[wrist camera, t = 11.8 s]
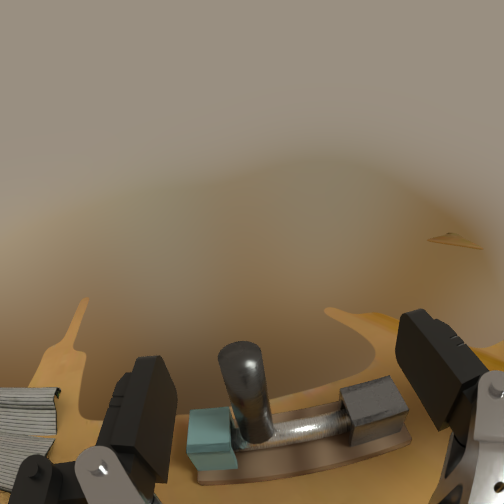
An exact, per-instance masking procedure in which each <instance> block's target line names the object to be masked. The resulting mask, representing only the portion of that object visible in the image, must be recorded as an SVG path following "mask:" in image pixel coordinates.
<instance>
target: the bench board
mask: <svg viewBox="0 0 504 504" xmlns="http://www.w3.org/2000/svg"><path fill="white" fill-rule="evenodd" d="M338 404H339V401H337V402H333V403H329V404H324V405H320V406H315V407H310V408H305V409H300V410H295V411H289V412H283V413H277V414H272V420H273V423H278V422H284V421H290V420H295V419H301V418H306V417H311V416H315V415H320V414H325V413H329V412H333V411H337V410H338ZM233 421H234V424H235V427H236V428H239V427H238V424H237V421H236V419H233ZM349 435H350V431H349V432H346V433H342V434H338V435H334V436H330V437H325V438H321V439H316V440H311V441H306V442H301V443H296V444H290V445H284V446H278V447H271V448H264V449H256V450H248V451H238V452H234V454H235V457H236V459H237V464H238V469H227V470H208V471H198V482H199V484H200V485H225V484H240V483H251V482H260V481H268V480H276V479H282V478H289V477H295V476H300V475H305V474H310V473H315V472H320V471H324V470H329V469H333V468H337V467H341V466H345V465H348V464H352V463H356V462H359V461H363V460H366V459H369V458H372V457H375V456H378V455H381V454H384V453H387V452H390V451H393V450H396V449H398V448H401V447H404V446H406V445H409V444H410V442H411V440H412V438H411V436H410V434H409V432H408V430H407V428H406V426H405V424H403V426H402V429H401V431H400V432H398V433H395V434H392V435H389V436H386V437H383V438H380V439H377V440H374V441H371V442H367V443H364V444H361V445H357V446H354V447H350V445H349V442H348V440H349Z"/></svg>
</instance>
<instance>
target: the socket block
mask: <svg viewBox="0 0 504 504" xmlns="http://www.w3.org/2000/svg"><path fill="white" fill-rule="evenodd" d="M231 428H236V427H235V424H234V421H233V418H232V415H231V412H230V409H229V407H220V408H210V409H195V410H190V416H189V426H188V437H187V449H186V453H187V455H188V456H189V458H190V460H191V461H192V463H193V464H194V466H195V467H196V469H197V470H198V471H208V470H227V469H238V464H237V459H236V457H235V454H234V452H233V449H232V447H231Z"/></svg>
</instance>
